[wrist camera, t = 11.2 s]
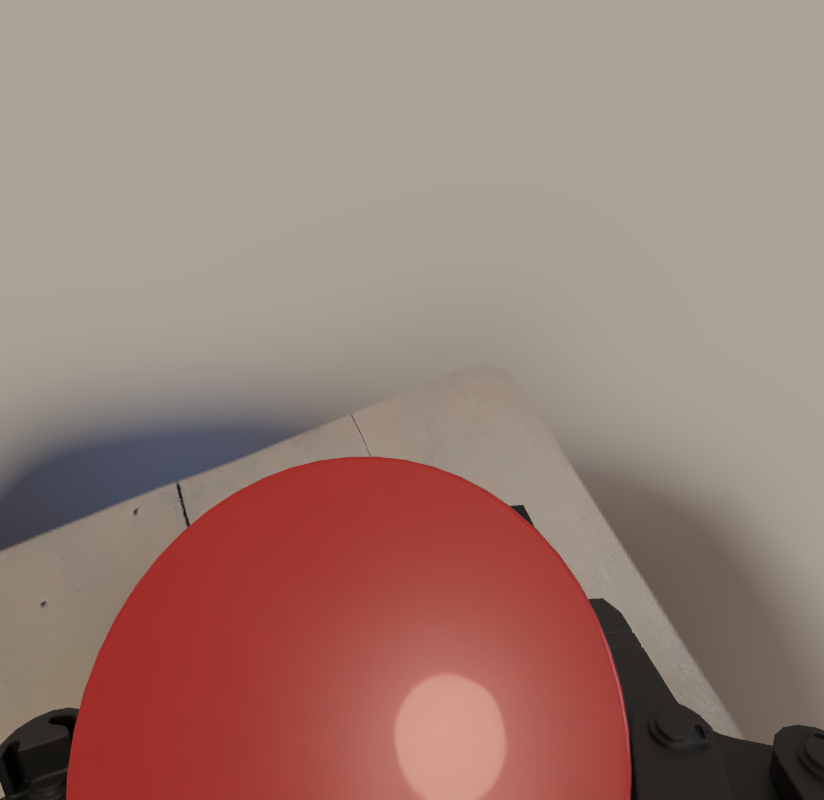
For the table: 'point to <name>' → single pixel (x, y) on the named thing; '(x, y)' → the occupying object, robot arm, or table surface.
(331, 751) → the red cylinder
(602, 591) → the table surface
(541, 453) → the table surface
